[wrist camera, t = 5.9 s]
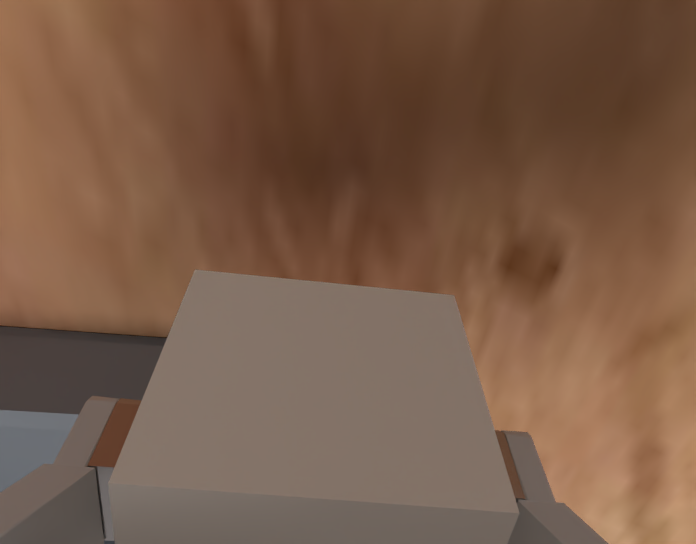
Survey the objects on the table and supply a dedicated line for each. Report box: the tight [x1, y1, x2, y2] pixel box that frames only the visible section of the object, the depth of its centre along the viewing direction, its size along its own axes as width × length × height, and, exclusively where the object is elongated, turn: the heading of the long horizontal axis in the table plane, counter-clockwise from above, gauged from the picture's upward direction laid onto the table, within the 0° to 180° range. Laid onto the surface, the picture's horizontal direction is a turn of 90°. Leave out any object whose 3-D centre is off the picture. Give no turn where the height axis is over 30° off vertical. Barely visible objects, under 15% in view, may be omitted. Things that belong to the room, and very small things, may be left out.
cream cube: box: [108, 270, 519, 544], centre depth 11 cm, size 5×5×5 cm
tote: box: [0, 326, 167, 544], centre depth 27 cm, size 18×14×5 cm
